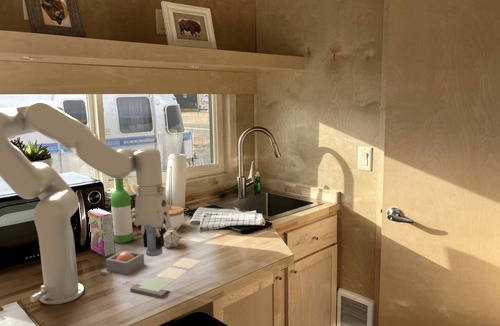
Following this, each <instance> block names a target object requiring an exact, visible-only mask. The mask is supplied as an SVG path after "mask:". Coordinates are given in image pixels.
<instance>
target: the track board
mask: <svg viewBox="0 0 500 326" xmlns="http://www.w3.org/2000/svg"><path fill="white" fill-rule="evenodd" d="M200 262H201V260H200V259H194V258H188V257H182V258H180V259H179V260H178V261H176V262H174V263H173V264H172V265H171V266H172V267H171V266H168V267H167V268H165V269H164V270H163V271H161V272H159V273H158V274H156V275H155V276H156V277H152V278H150V279H149V280H147V281H145V282H144V283H143V284H138V283H136V284H134V285H133V286H131V287H130V288H129V290H130V292H131V293H132V292H133V293H137V294H142V295H144V296H145V295H146V296H149V297H155V298H159V299H163V298H164V297H165V296H167V295H168V294H170V293H171V291H170V290H166V289H164V288H166V287H167V286H168V285H170V284H171V283H173V281H172V280H177V279H178V278H179V277H181V276H182V275H184V274H185V273H186V272H187V271H188V270H189V269H191V268H192V269H193V267H195V266H196V265H197V264H199V263H200ZM177 267H178V268H177ZM181 268H183V269H181ZM187 269H188V270H187ZM157 277H160V278H157ZM162 278H164V279H162ZM167 279H169V280H167Z"/></svg>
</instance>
